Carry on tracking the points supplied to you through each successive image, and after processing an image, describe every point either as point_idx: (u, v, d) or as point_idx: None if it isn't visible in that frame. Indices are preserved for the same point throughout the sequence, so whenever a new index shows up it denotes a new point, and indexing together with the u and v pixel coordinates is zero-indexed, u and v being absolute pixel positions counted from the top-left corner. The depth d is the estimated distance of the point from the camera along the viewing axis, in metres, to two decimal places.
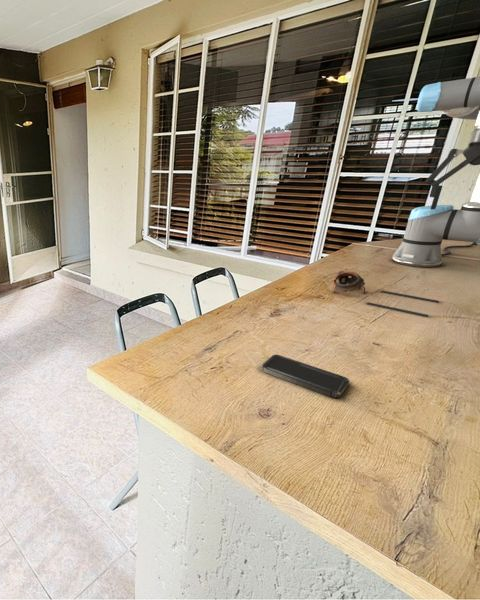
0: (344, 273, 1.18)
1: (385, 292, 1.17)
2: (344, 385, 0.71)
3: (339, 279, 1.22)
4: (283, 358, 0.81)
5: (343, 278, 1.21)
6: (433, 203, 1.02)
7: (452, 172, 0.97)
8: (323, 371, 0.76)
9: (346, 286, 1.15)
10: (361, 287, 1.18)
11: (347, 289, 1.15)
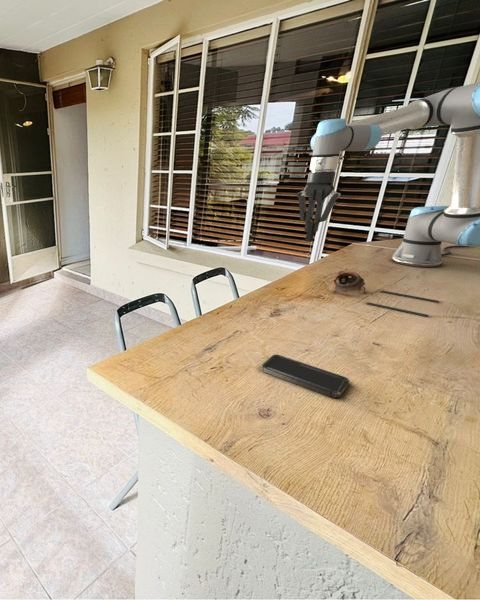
0: (344, 273, 1.18)
1: (385, 292, 1.17)
2: (344, 385, 0.71)
3: (339, 279, 1.22)
4: (283, 358, 0.81)
5: (343, 278, 1.21)
6: (306, 236, 1.24)
7: (310, 208, 1.21)
8: (323, 371, 0.76)
9: (346, 286, 1.15)
10: (361, 287, 1.18)
11: (347, 289, 1.15)
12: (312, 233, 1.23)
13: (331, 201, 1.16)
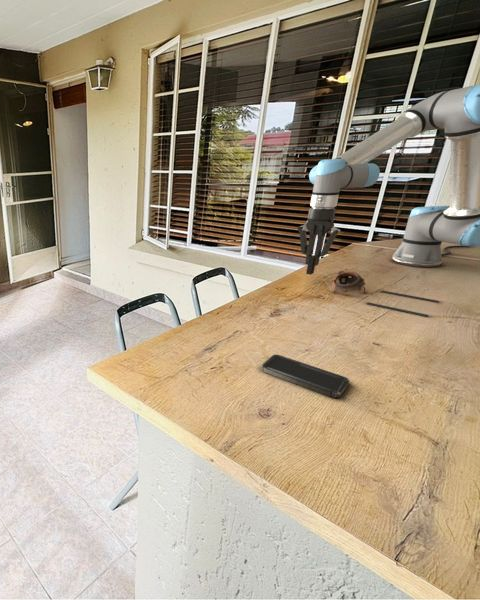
0: (344, 273, 1.18)
1: (385, 292, 1.17)
2: (344, 385, 0.71)
3: (339, 279, 1.22)
4: (283, 358, 0.81)
5: (343, 278, 1.21)
6: (307, 269, 1.27)
7: (310, 243, 1.24)
8: (323, 371, 0.76)
9: (346, 286, 1.15)
10: (361, 287, 1.18)
11: (347, 289, 1.15)
12: (313, 266, 1.26)
13: (331, 237, 1.18)
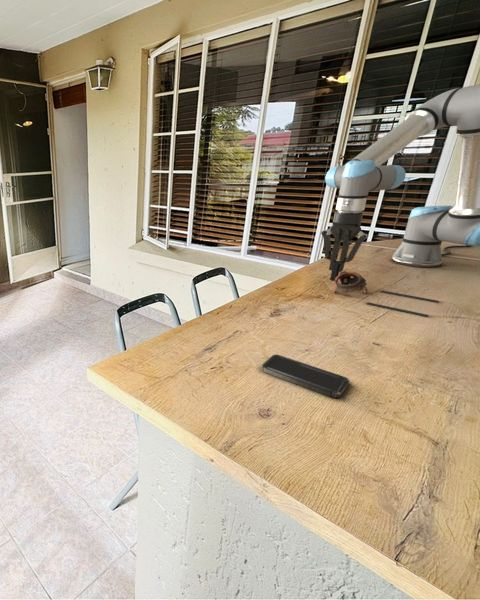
0: (346, 273, 1.18)
1: (385, 292, 1.17)
2: (344, 385, 0.71)
3: (341, 279, 1.21)
4: (283, 358, 0.81)
5: (345, 278, 1.21)
6: (331, 275, 1.21)
7: (335, 248, 1.18)
8: (323, 371, 0.76)
9: (347, 286, 1.14)
10: (363, 287, 1.18)
11: (348, 289, 1.15)
12: (337, 272, 1.21)
13: (358, 242, 1.13)
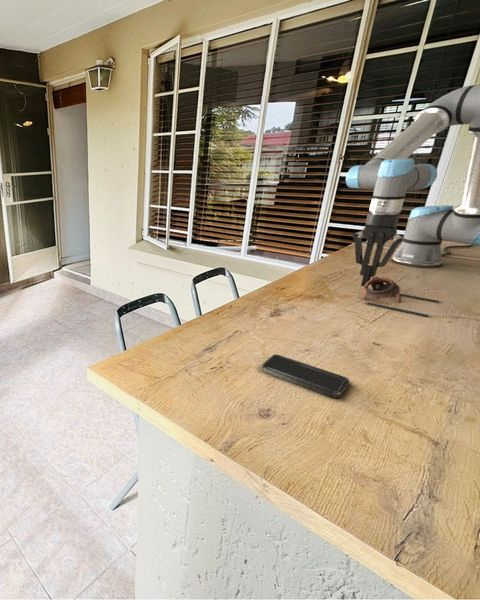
0: (377, 279, 1.11)
1: None
2: (344, 385, 0.71)
3: (372, 285, 1.15)
4: (283, 358, 0.81)
5: (377, 284, 1.14)
6: (363, 281, 1.14)
7: (367, 252, 1.12)
8: (323, 371, 0.76)
9: (377, 293, 1.08)
10: (397, 295, 1.11)
11: (378, 296, 1.08)
12: (369, 277, 1.14)
13: (394, 246, 1.06)
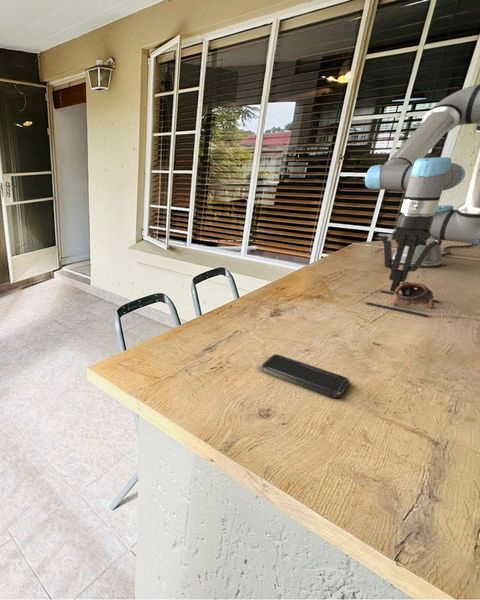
0: (409, 284, 1.06)
1: (385, 292, 1.17)
2: (344, 385, 0.71)
3: (402, 290, 1.09)
4: (283, 358, 0.81)
5: (407, 290, 1.08)
6: (392, 286, 1.09)
7: (398, 256, 1.06)
8: (323, 371, 0.76)
9: (410, 299, 1.02)
10: (429, 301, 1.05)
11: (411, 302, 1.03)
12: (399, 282, 1.08)
13: (427, 249, 1.01)
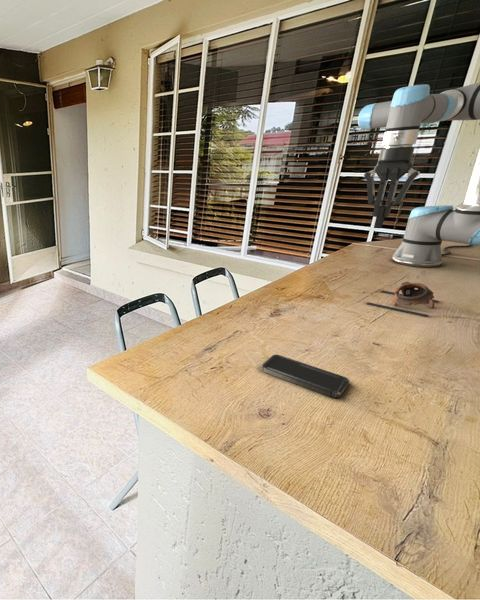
0: (409, 284, 1.06)
1: (385, 292, 1.17)
2: (344, 385, 0.71)
3: (403, 291, 1.09)
4: (283, 358, 0.81)
5: (408, 290, 1.08)
6: (376, 222, 1.10)
7: (381, 190, 1.07)
8: (323, 371, 0.76)
9: (410, 299, 1.02)
10: (429, 301, 1.05)
11: (411, 302, 1.03)
12: (382, 218, 1.09)
13: (409, 181, 1.01)
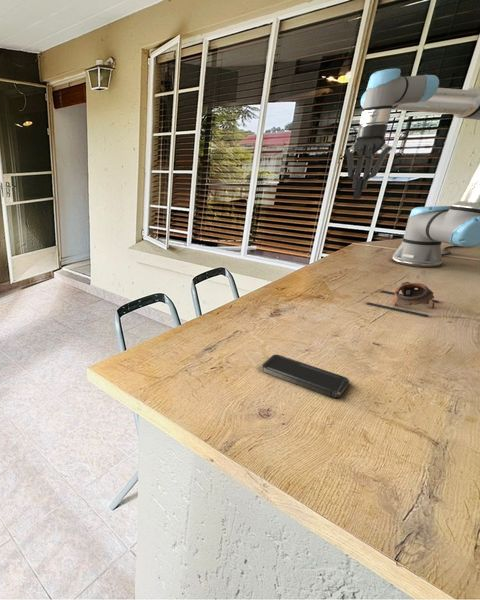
0: (409, 284, 1.06)
1: (385, 292, 1.17)
2: (344, 385, 0.71)
3: (403, 291, 1.09)
4: (283, 358, 0.81)
5: (408, 290, 1.08)
6: (354, 193, 1.23)
7: (359, 164, 1.20)
8: (323, 371, 0.76)
9: (410, 299, 1.02)
10: (429, 301, 1.05)
11: (411, 302, 1.03)
12: (360, 190, 1.22)
13: (383, 155, 1.14)
